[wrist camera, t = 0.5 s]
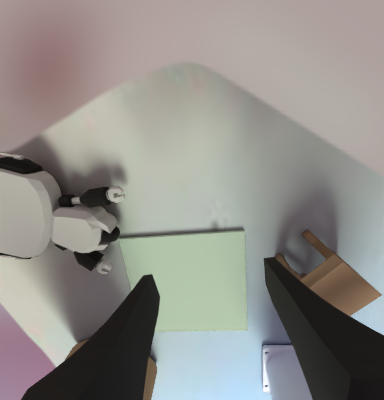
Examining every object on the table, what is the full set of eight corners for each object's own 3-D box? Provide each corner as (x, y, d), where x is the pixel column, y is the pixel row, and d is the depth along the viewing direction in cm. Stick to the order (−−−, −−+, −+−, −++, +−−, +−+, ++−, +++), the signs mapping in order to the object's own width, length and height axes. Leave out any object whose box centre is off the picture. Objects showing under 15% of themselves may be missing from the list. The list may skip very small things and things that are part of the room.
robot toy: (136, 178, 22) (0, 141, 21) (122, 189, 18) (-49, 143, 17) (119, 263, 26) (3, 237, 25) (105, 289, 22) (-36, 258, 21)
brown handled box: (337, 255, 22) (381, 294, 17) (303, 281, 24) (333, 326, 18) (307, 229, 22) (343, 261, 16) (274, 258, 23) (296, 297, 17)
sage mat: (246, 327, 27) (247, 330, 26) (142, 329, 28) (141, 331, 28) (243, 229, 22) (244, 231, 22) (119, 237, 24) (118, 239, 23)
